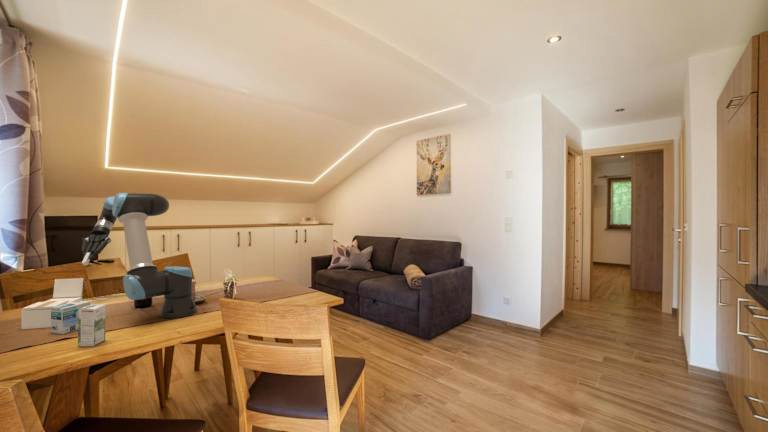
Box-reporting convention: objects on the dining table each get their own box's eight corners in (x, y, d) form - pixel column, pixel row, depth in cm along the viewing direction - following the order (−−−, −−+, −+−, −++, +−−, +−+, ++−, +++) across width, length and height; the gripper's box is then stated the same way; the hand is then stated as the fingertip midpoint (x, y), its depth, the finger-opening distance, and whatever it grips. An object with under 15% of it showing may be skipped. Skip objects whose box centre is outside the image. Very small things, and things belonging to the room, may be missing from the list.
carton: (51, 315, 154) (51, 296, 154) (82, 313, 158) (82, 294, 157) (21, 329, 137) (21, 307, 137) (56, 326, 140) (56, 305, 140)
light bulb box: (62, 334, 133) (62, 308, 132) (50, 333, 134) (49, 307, 134) (91, 325, 143) (90, 301, 143) (79, 324, 144) (78, 300, 144)
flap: (52, 297, 154) (54, 297, 155) (80, 296, 157) (82, 296, 158) (54, 279, 156) (56, 279, 156) (82, 278, 159) (83, 278, 159)
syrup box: (90, 340, 127) (89, 304, 127) (106, 340, 128) (105, 304, 127) (77, 346, 122) (77, 308, 121) (94, 346, 122) (94, 308, 122)
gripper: (118, 233, 189) (102, 267, 173) (91, 233, 185) (72, 268, 170) (113, 225, 183) (96, 259, 168) (85, 225, 180) (65, 260, 164)
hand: (84, 263), depth 169 cm, fingers closed
